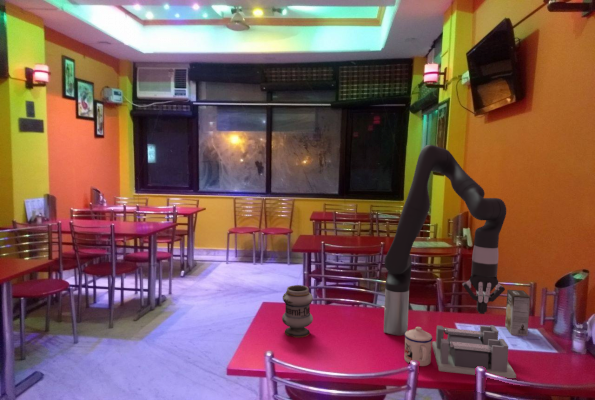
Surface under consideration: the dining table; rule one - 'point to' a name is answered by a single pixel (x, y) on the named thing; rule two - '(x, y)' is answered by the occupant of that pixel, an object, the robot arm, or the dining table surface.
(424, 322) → the dining table surface
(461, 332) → the grey hinged latch bar
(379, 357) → the dining table surface
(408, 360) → the teacup with lid
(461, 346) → the strap
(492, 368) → the base
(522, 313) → the coffee box
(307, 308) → the apothecary jar
